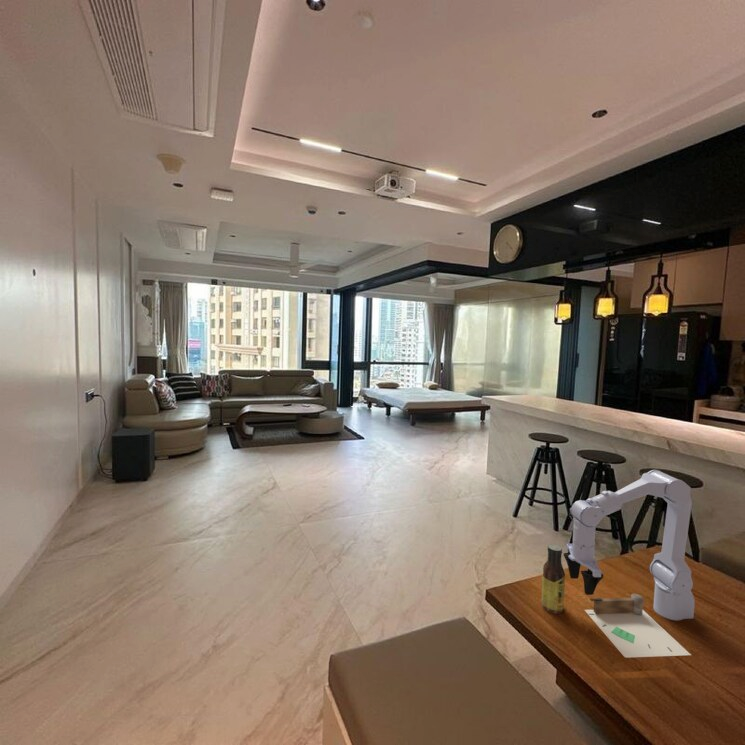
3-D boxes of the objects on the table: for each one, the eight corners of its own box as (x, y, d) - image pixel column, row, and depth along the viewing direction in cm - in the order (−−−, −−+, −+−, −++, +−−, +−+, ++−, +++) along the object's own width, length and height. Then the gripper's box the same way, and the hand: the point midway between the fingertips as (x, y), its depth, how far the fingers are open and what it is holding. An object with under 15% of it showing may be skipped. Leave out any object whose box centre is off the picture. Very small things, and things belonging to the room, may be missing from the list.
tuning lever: (637, 607, 120) (638, 593, 119) (644, 614, 117) (645, 600, 116) (586, 609, 119) (587, 595, 118) (592, 616, 116) (593, 601, 115)
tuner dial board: (640, 611, 120) (640, 607, 120) (691, 658, 102) (691, 654, 102) (584, 612, 119) (584, 609, 119) (624, 661, 102) (625, 657, 101)
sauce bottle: (562, 619, 117) (565, 556, 115) (539, 611, 120) (542, 549, 118) (564, 606, 122) (567, 546, 120) (542, 599, 125) (545, 540, 124)
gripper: (557, 530, 123) (555, 571, 124) (585, 556, 108) (582, 602, 109) (579, 530, 123) (577, 571, 124) (609, 555, 109) (607, 601, 110)
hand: (581, 585), depth 117 cm, fingers open, 7 cm apart
